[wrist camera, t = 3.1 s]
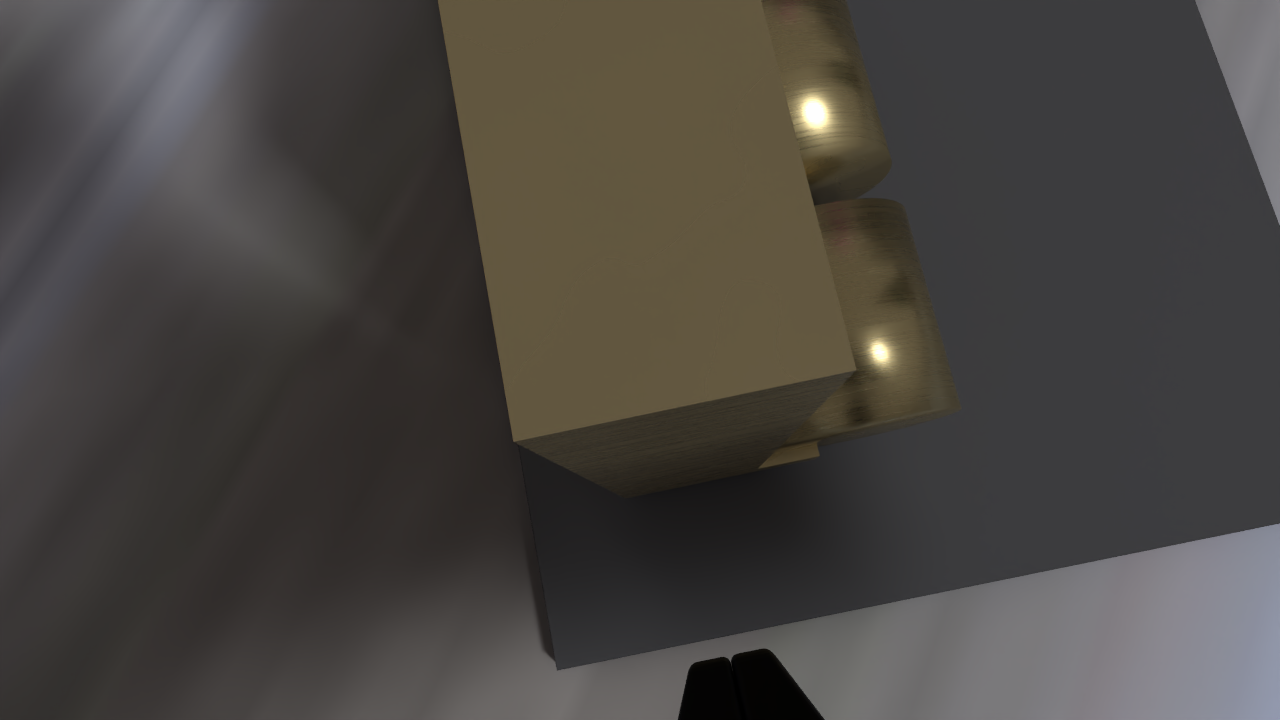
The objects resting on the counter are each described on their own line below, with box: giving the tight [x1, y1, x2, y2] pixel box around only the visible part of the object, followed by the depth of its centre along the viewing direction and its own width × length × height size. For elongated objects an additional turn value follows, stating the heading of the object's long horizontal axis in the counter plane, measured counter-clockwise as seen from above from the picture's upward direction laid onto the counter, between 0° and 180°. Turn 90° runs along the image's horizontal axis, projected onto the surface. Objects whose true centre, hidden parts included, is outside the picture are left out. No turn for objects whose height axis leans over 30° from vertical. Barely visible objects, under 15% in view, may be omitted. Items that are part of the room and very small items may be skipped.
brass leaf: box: [438, 0, 961, 498], centre depth 12 cm, size 8×6×10 cm
